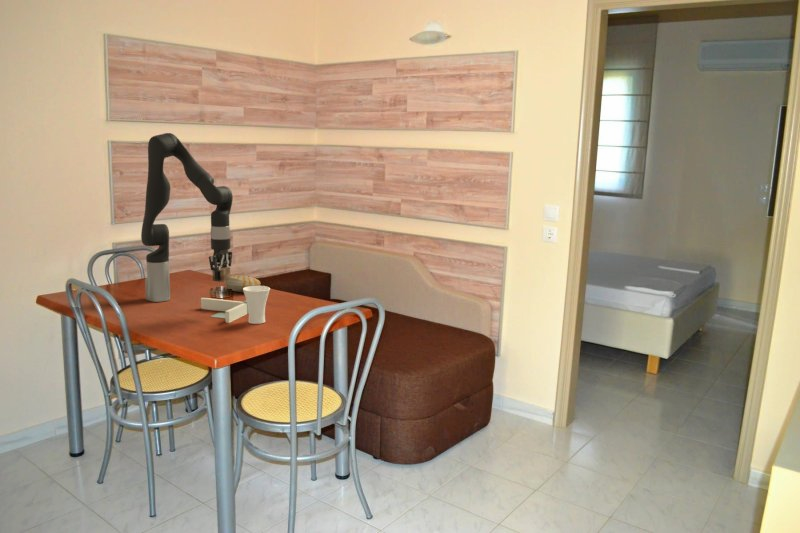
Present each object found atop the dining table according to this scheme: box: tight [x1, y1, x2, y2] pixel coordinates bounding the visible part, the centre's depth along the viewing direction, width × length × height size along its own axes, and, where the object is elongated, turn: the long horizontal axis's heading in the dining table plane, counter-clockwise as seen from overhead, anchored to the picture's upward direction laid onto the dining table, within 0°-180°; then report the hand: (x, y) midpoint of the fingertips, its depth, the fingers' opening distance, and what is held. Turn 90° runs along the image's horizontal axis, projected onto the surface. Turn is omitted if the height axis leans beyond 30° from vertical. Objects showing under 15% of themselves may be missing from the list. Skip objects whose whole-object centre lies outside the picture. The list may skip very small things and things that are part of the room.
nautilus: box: [224, 274, 262, 293], centre depth 312 cm, size 8×22×15 cm
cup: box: [243, 285, 271, 325], centre depth 259 cm, size 10×10×14 cm
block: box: [211, 266, 231, 283], centre depth 265 cm, size 5×5×5 cm
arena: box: [200, 297, 249, 324], centre depth 268 cm, size 22×16×5 cm
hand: (221, 279), depth 265 cm, fingers closed on block, 5 cm apart
